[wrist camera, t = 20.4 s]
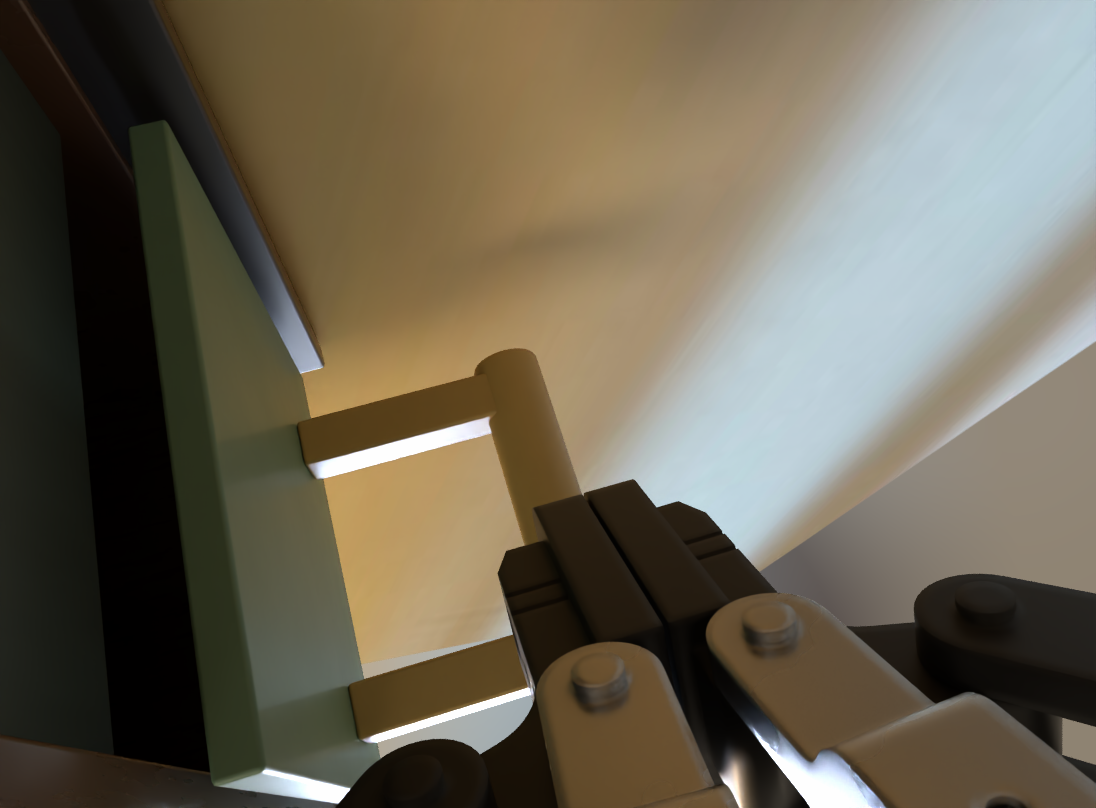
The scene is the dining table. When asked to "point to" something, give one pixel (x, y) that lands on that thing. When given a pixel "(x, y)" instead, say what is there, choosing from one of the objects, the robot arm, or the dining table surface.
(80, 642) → the cabinet
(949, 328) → the dining table surface
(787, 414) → the dining table surface
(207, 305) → the door
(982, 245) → the dining table surface
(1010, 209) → the dining table surface
